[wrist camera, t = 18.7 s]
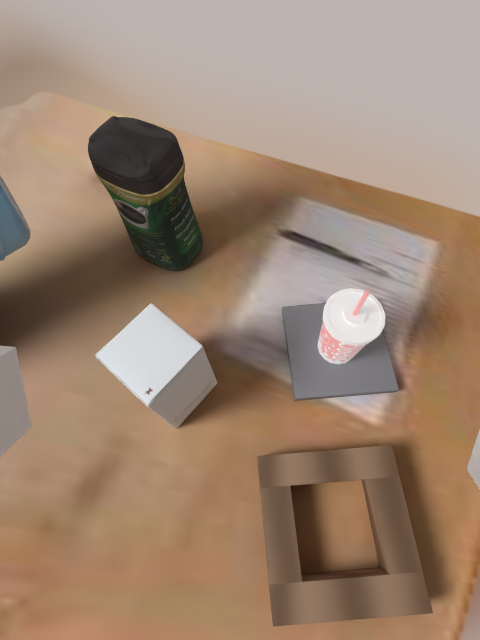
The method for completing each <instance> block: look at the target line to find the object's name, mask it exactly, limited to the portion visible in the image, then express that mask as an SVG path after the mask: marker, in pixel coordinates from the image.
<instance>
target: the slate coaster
mask: <svg viewBox="0 0 480 640" xmlns="http://www.w3.org/2000/svg"><path fill="white" fill-rule="evenodd" d="M325 304H326V303H321V304H310V305H299V306H287V307H282V315H283V322H284V329H285V336H286V343H287V350H288V357H289V364H290V371H291V378H292V386H293V393H294V400H295V401H298V400H309V399H321V398H332V397H344V396H355V395H367V394H378V393H390V392H397V391H398V390H399V389H398V385H397V381H396V377H395V374H394V370H393V366H392V362H391V359H390V355H389V351H388V347H387V344H386V340H385V336H384V332H383V330H382V331H381V333H380V335H379V336H378V337H377V338H375V339H374V340H373V341H371V342H370V343H368V344H366V345H365V346H364V347H363V348H362V349H361V350H360V351H359V352H358V353H357V354H356V355H355V356H354V357H353V358H352V359H350V360H349V361H348V362H346V363H342V364H334V363H330V362H329V361H327V360H325V359H324V358H323V357H322V356H321V354H320V353H319V350H318V339H319V335H320V331H321V327H322V323H323V310H324V306H325Z"/></svg>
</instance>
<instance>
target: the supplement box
mask: <svg viewBox="0 0 480 640" xmlns="http://www.w3.org/2000/svg"><path fill="white" fill-rule="evenodd" d="M95 356H96V358H97V359H98V360H99V361H100V362H101V363H102V364H104V365H105V366H106V367H107V368H108V369H109V370H110V371H111V372H112V373H113V374H114V375H115V376H116V377H117V378H118V379H119V380H120V381H121V382H122V383H123V384H124V385H125V386H126V387H127V388H128V389H129V390H130V391H131V392H133V393H134V394H135V395H136V396H137V397H138V398H139V399H140V400H141V401H142V402H143V403H144V404H145V405H146V406H147V407H149V408H150V409H151V410H153V411H154V412H155V413H157V414H158V415H159V416H161V417H162V418H163V419H165V420H166V421H167V422H169V423H170V424H171V425H173V426H174V427H175V428H178V427H179V426H180V424H181V423H182V422H183V421H184V420H185V419H186V418H187V417H188V416H189V414H190V413H191V412H192V411H193V410H194V409H195V408H196V407H197V406H198V405H199V403H200V402H201V401H202V400H203V399H204V398H205V397H206V396H207V394H208V393H209V392H210V391H211V390H212V389H213V388H214V387H215V385H216V384H217V380H216V378H215V375H214V373H213V370H212V368H211V365H210V363H209V360H208V358H207V356H206V353H205V350H204V348H203V345H201V344H200V343H199V342H198V341H197V340H196V339H195V338H193V337H192V336H191V335H190V334H189V333H187V332H186V331H185V330H184V329H183V328H181V327H180V326H179V325H178V324H177V323H175V322H174V321H173V320H172V319H170V318H169V317H168V316H167V315H166V314H164V313H163V312H162V311H161V310H159V309H158V308H157V307H156V306H154V305H153V304H152V303H150V304H149V305H148V306H147V307H146V308H145V309H144V310H143V311H142V312H141V313H140V314H139V315H138V316H137V317H136V318H135V319H133V320H132V321H131V322H130V323H129V324H128V325H127V326H126V327H125V328H124V329H123V330H122V331H121V332H120V333H119V334H117V335H116V336H115V337H114V338H113V339H112V340H111V341H110V342H108V343H107V344H106V345H105V346H104V347H103V348H102V349H101V350H100V351H99V352H97V353H96V355H95Z"/></svg>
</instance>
